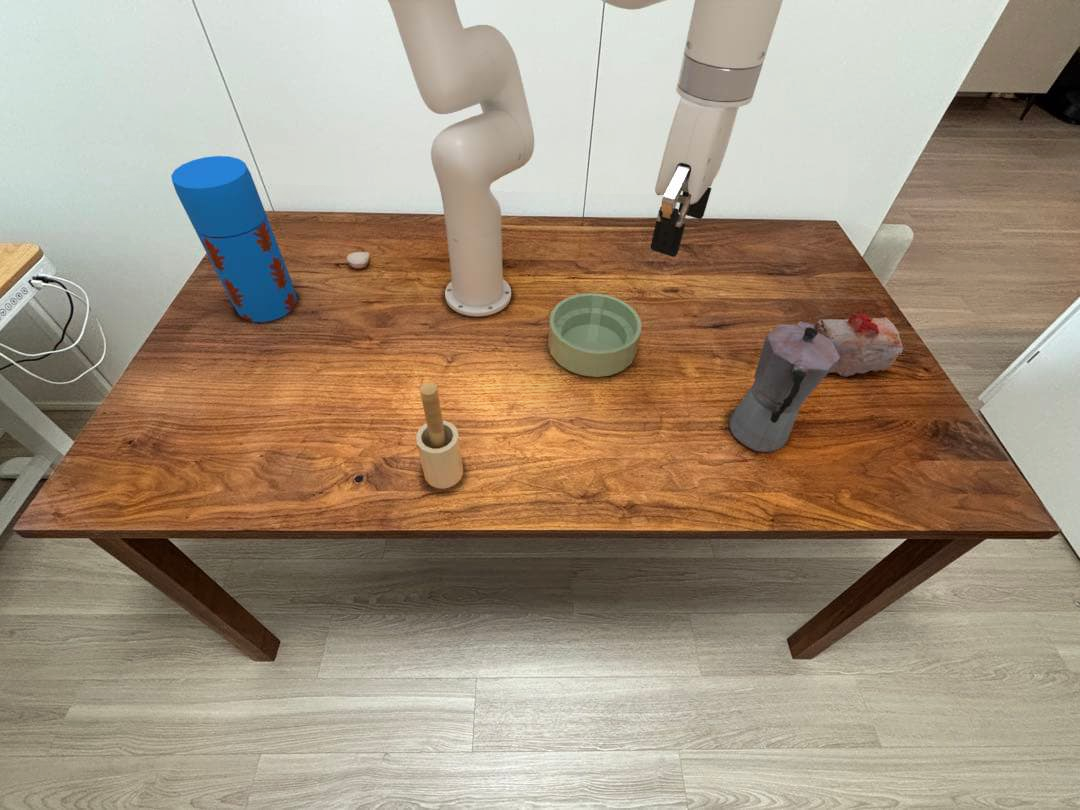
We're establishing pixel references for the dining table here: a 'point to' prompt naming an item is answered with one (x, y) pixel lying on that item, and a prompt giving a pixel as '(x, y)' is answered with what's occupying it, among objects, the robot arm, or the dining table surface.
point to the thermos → (236, 235)
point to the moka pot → (782, 385)
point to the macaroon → (358, 259)
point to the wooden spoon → (433, 415)
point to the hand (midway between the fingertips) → (677, 232)
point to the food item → (862, 343)
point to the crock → (440, 457)
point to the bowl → (594, 334)
